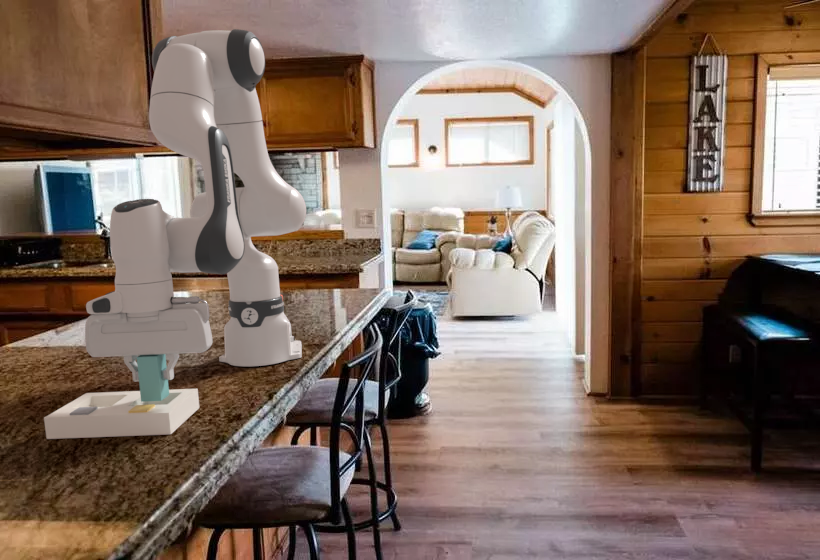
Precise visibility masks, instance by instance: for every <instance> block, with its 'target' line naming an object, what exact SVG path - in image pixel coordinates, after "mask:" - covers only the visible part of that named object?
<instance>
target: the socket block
mask: <svg viewBox="0 0 820 560" xmlns="http://www.w3.org/2000/svg"><path fill="white" fill-rule="evenodd" d="M199 399H200V398H199V390H198V388H183V389H182V388H180V389H179V388H178V389H169V395H168V396H167V397H166V398H164V399H163V400H162V401H144V402H141V395H140V390H130V391H129V390H128V391H127V390H125V391H104V392H86V393H84V394H82V395H81V396H78V397H77V398H76V399H74V400H72V401H70V402H68V403H67V404H65V405H63V406H62V407H60V408H57V410H54V411H53V412H51V413H50V414H48V415H46V416H44V417H43V422H44V429H45V437H46V440H57V439H80V438H84V439H85V438H106V437H107V438H108V437H109V438H110V437H113V438H114V437H135V436H139V437H140V436H160V435H166V436H167V435H172V434H173V433H174V432H176V430H177V429H178V428H180V426H181V425H183V424H185V422H186V421H187V420H188V419H189V418H190V417H192V415H193V414H195V413H196V412H197V411H198V410H199V409H200V400H199Z"/></svg>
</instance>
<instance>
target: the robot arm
mask: <svg viewBox="0 0 820 560" xmlns="http://www.w3.org/2000/svg"><path fill="white" fill-rule="evenodd" d="M151 65H152V69H153V72H154V73H153V78H152V83H151V89H150V99H149V107H148V108H149V109H148V110H149V111H148V121H149V126H150V130H151V133H152V134H153V136H154V137H155V138H156V140H157V142H159V143H160V144H161V145H163V146H164V147H166V148H167V149H168V150H170V151H172V152H175V153H176V154H179V155H181V156H184V157H186V158H187V157H188V158H191V159H193V160H196V161H198V162H199V164H200V165H201V168H202V171H203V177H204V188H205V191H204V192H200V193H198V194H197V195H196V196H195V197H194V198H193V201H192V203H191V204H190V209H189V210H190V211H189V217H175V216H174V215H170V214H168V213H167V212H166V211H164V209H163V207H162V204H161V202H160V201H159V200H158V199H153V198H140V199H135V200H134V199H133V200H127V201H123V202H120V203H117V205H115V206H114V207H113V208H112V210H111V214H110V220H109V221H110V222H109V238H110V239H109V243H110V251H111V257H112V261H113V263H114V265H115V277H114V288H115V289H114V290H113V291H109V292H107V293H105V295H101V296H98V297H96V298H94V299H91V300H89V301H87V302H86V304H85V308H86V312H87V314H88V315H89V316H88V317H87V319H86V321H85V326H84V340H85V349H86V352H87V353H88V355H89V356H91V357H92V358H101V357H102V358H105V357H123V363H124V364H125V366H126V367H127V368H128V369H129V371H130V372H132V381H133V382H139V376H138V366H137V357H138V356H140V355H156V354H165V355H166V361H169V362H168V364H167V368H164V369H163V370H161V375H162V377H161V378H162V380H168V381H172V380H173V379H174V378H175V370H174V368H175V366H176V365H177V363H178V360H179V358H180V354H198V353H199V354H200V353H201V354H202V353H205V352H206V351H208V350H209V349H210V348H211V346H212V345H213V341H214V340H213V334H212V328H211V326H210V321H209V319H210V315H211V314H210V306H209V304H208V302H207V301H206V300H204V299H202V298H200V296H196V295H195V296H192V295H191V296H190V297H189V296H188V297H187V296H175V295H174V284H173V283H174V282H173V277H172V273H181V274H184V273H185V274H186V273H187V274H189V273H204V274H213V275H214V274H215V275H227V282H228V289H229V300H228V305H227V306H228V316H230V319H229V320H228V321H227V322H226V323H225V325H224V328H223V330H224V333H223V334H224V337H223V338H224V353H223V354H222V355H219V357H218V359H219V360H218V361H219V362H221V363H225V364H229V365H231V366H234V367H259V366H260V367H261V366H269V365H275V364H279V363H283V362H287V361H290V360H296V359H297V360H298V359H300V358H302V355H303V354H302V353H303V352H302V351H303V350H302V349H303V344H302V340H298V339H297V340H296V339H295V336H294V335H292V324H291V322H290V319H288V317H287V315H286V314H285V312H284V311H285V306H284V303H285V302H284V295H283V294H281V288H280V287H281V286H280V278H279V275H280V274H279V266H278V264H277V262H276V260H275V259H274V258H273V257H271V256H270V255H269V254H266V253H265V252H262V251H260V250H258V249H257V248H256V246H255V245H254V244H253V241H252V237H273V236H275V237H276V236H281V235H285V234H289V233H293V232H297V231H299V230H300V229H301V227H303V225H304V222H305V220H306V217H307V205H306V201H305V199H304V197H303V195H302V194H301V192H299V190H297V188H295V187H293V186H292V185H291V184H289V183H288V182H286V181H285V180H284V179H283V178H282V176H280V174H279V173H278V172H277V170H276V168H275V167H274V165H273V163H272V161H271V159H270V155H269V153H268V152H269V151H268V147H267V142H266V138H265V137H266V136H265V130H264V129H265V128H264V123H263V115H262V109H261V104H260V99H259V97H258V93H257V90H256V86H257V84H258V83H259V82H261V80H262V77H263V76H264V73H265V69H266V56H265V52H264V48H263V45H262V42H261V41H260V39H259V38H258V37H257V36H256V35H255V33H253V32H252V31H249V30H247V29H246V30H245V29H239V28H238V29H237V28H233V29H231V30H225V29H220V30H218V29H215V30H213V29H212V30H202V31H200V32H194V33H187V34H183V35H178V36H176V35H172V36H168V37H165V38H163V39H161V40H159V41H158V42H157V43H156V45H155V47H154V48H153V51H152V54H151ZM235 174H236V175H237V176H238V177H239V178H240V180H241V182H242V183H243V185H244V186H243V187H236V181H235Z"/></svg>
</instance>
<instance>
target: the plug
mask: <svg viewBox="0 0 820 560" xmlns="http://www.w3.org/2000/svg"><path fill="white" fill-rule="evenodd" d="M136 362H137V366H138V376H139V381H138V383H139V391H140V395H141V402H144V401H162V400H163V399H164V398H166V397H167V396H168V395H169V390H170V387H169V380H162V378H161V377H162V375H161V370H163V369H164V368H167V366H168V364H167V360H166V354H156V355H138V357H137V359H136Z"/></svg>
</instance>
